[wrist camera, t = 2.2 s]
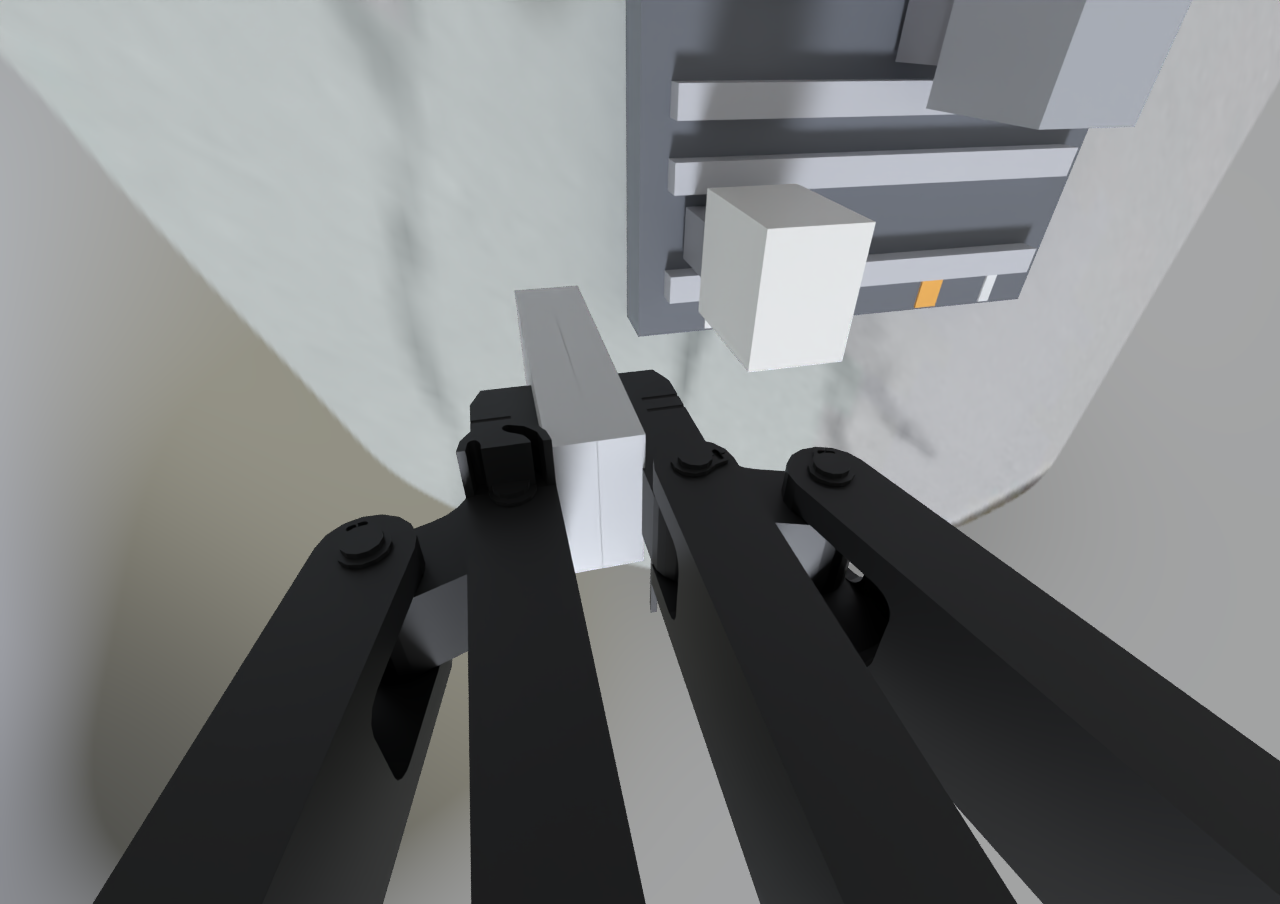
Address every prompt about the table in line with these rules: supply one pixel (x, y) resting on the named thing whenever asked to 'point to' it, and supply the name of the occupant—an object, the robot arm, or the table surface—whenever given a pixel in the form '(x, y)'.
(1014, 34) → the pale grey upright box
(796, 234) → the block
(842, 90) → the console
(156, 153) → the table surface
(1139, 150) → the table surface
